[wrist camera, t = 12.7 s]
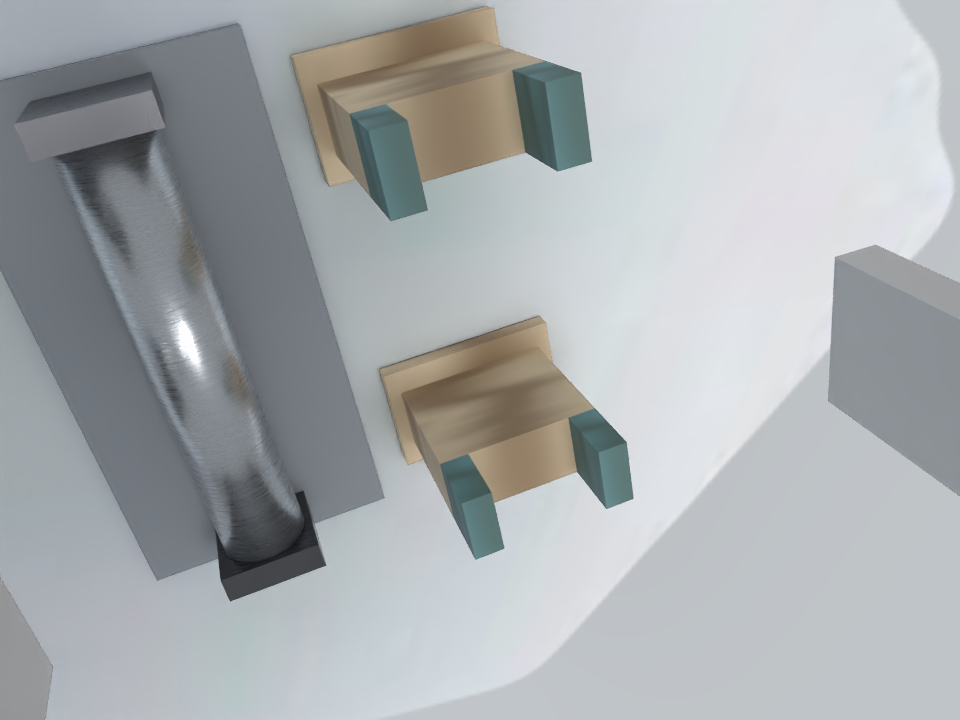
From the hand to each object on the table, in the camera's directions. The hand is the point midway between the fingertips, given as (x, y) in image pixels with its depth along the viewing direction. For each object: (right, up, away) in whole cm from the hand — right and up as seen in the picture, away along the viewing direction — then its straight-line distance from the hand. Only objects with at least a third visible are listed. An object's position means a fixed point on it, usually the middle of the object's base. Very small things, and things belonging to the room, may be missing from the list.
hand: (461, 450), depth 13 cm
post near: (-3, +12, +22) cm, 25 cm away
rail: (-11, +2, +23) cm, 25 cm away
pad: (-12, +3, +23) cm, 26 cm away
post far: (0, 0, +29) cm, 29 cm away
